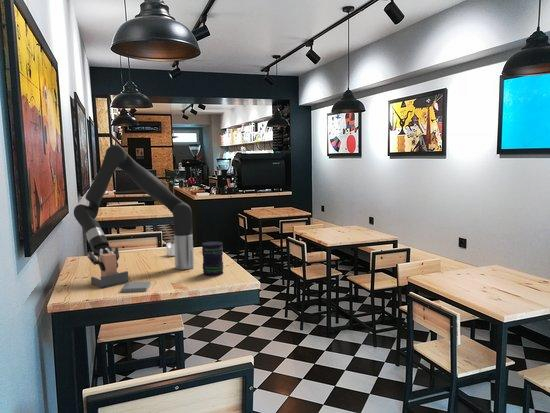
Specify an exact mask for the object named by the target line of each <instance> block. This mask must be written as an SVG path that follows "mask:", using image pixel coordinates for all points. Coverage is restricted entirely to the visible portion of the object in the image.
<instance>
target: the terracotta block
mask: <svg viewBox="0 0 550 413" xmlns="http://www.w3.org/2000/svg"><path fill="white" fill-rule="evenodd" d="M101 259H102V262H103V264H104V266H105V268H106V269H105V271H102V270H101V269H100V277H101V276H106V275H111V274H116V273H117V272H118V268H117V265H116V254H114V253H113V252H112V253H107V254H102V255H101Z"/></svg>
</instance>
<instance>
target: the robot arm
mask: <svg viewBox="0 0 550 413" xmlns="http://www.w3.org/2000/svg"><path fill="white" fill-rule="evenodd" d="M103 157H104V158H103V161H102V163H101V165H100V168H99V170H98V172H97V175H96V176H95V178H94V179H93V181H92V183H91V185H90V187H89V189H88V190H87V193H86V194H85V197H84V198H85V200H86V201H88V203H89V204H88V205H85V204H78V205H75V207H74V208H73V216H74V219H75V220H76V221H77V223H79V225H80V226H81V227H82V228H83V231H84V233H85V235H86V240H87V242H88V244H89V246H90V248H91V250H92V251H88V253H87V258H88V259H89V261H90V262H91V263H92V264H93V265H94V266H96V265H98V266H99V269H100V271H101V270H102V271H105V269H106V268H105V266H104V264H103V262H102V259H101V255H102V254H107V253H113V254H116V265H117V269H118V267H119V263H118V261H119V259H120V252H119V247H118V246H117V247H115V248H112V247H111V246H110V244H109V241H108V239H107V236H106V235H105V233H104V231H103V229H102V227H101V225H100V223H99V222H98V220H96V218H97V216H98V214H99V209H100V205H101V201H102V199H103V197H104V195H105V194H106V192H107V189H108V187H109V185H110V181H111V179H112V177H113V175H114V173H115V171H116V170H117V168H118V169H120V170H122V171H123V172H124V173H125V174H126V175H128V177H129V178H130V179H131V180H132V181H133V182H134V184H136V185H137V187H138V188H139V189H141V190H142V191H143V192H145V193H146V194H147V195H148V196H149V197H151V198H152V199H154V200H155V201H157V202H159V203H160V204H162V205H163V206H164V207H165V208H166V209H168V210H169V211H170V213H172V219H173V220H172V222H173V223H172V224H173V238H174V239H173V244H174V247H175V256H174V265H175V266H174V267H175V269H176V270H189V269H194V267H195V255H194V252H195V251H194V240H193V237H194V236H193V211H192V208H191V205H190V204H188V203H187V202H185V201H183V200H181V199H180V198H179V197H178V196H176V194H173V192H172V191H171V190H170V189H169V188H168V187H167V186H166V185H165V184H164V183H163V182H162V181H161V179H159V178H158V177H157V176H155V174H153V173H152V172H151V171H149V170H148V169H146V168H145V167H143V166H142V165H140V164H139V163H138V162H137V161H135V160H134V158H132V157H131V156H130V154H128V152H127V151H126V150H125V149H124V148H123V146H121V145H118V144H112V145H110V146H108V148H107V149H106V150H105V154H104V156H103ZM95 256H96V257H97V258H96V257H95Z"/></svg>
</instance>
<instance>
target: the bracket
mask: <svg viewBox="0 0 550 413" xmlns="http://www.w3.org/2000/svg"><path fill="white" fill-rule="evenodd" d="M165 245H166V256H169V257H175V247H174V243H173V244H172V242H166V244H165Z"/></svg>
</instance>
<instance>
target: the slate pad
mask: <svg viewBox="0 0 550 413" xmlns="http://www.w3.org/2000/svg"><path fill="white" fill-rule="evenodd" d="M150 286H151V280H146V281H128V282H127V283H124V285H123V286H122V288H121V289H120V292H121V293H136V292H147V291H148V290H149V288H150Z"/></svg>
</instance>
